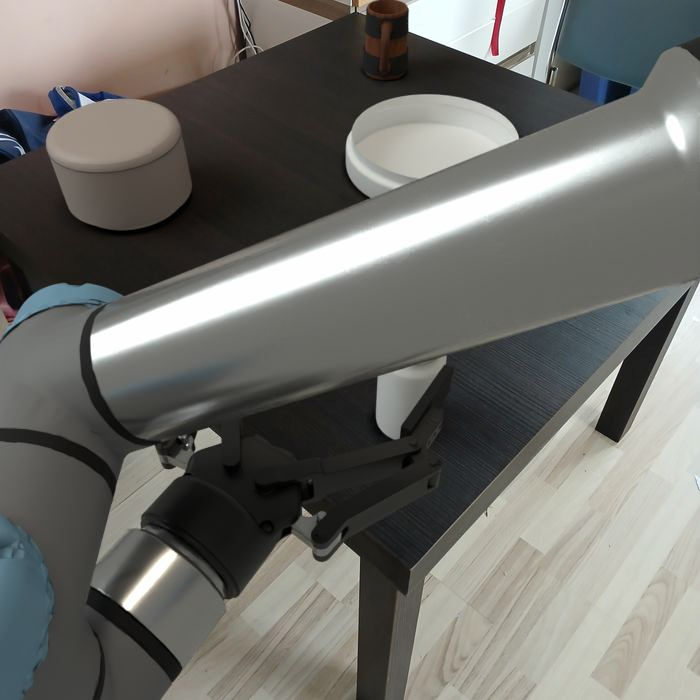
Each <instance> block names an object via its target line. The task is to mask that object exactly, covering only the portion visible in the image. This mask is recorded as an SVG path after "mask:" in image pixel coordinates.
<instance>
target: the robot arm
mask: <svg viewBox="0 0 700 700" xmlns="http://www.w3.org/2000/svg"><path fill="white" fill-rule="evenodd" d="M690 282H700V36H698V37H696V38H693V39H691V40H688V41H686V42H682V43H680V44H678V45H676V46H673V47H671V48H669V49H667V50H665V51H663V52H662V53H660V55H659V57H658V59H657V61H656V62H655V63H654V66H653V67H652V69H651V71H650V73H649V74H648V76H647V78H646V79H645V81H644V83H643V85H642V87H640V88H639V89H638V90H637V91H635V92H633V93H631V94H628V95H625V96H624V97H621V98H619V99H615V100H613V101H610V102H608V103H606V104H604V105H601V106H598V107H595V108H593V109H590V110H589V111H586V112H582V113H581V114H578V115H575V116H573V117H570V118H567V119H565V120H563V121H561V122H558V123H555V124H553V125H551V126H548V127H545V128H542V129H541V130H538V131H536V132H532V133H530V134H528V135H525V136H523V137H521V138H520V137H519V139H518V140H515V141H513V142H510V143H508V144H505V145H503V146H500V147H498V148H495V149H493V150H490V151H488V152H485V153H483V154H480V155H478V156H475V157H473V158H470V159H468V160H465V161H463V162H460V163H458V164H455V165H453V166H450V167H448V168H445V169H443V170H440V171H438V172H435V173H433V174H430V175H428V176H425V177H423V178H420V179H417V180H415V181H412V182H410V183H407V184H405V185H402V186H400V187H397V188H395V189H392V190H390V191H387V192H385V193H382V194H380V195H377V196H375V197H372V198H370V197H369V198H367V199H365V200H363V201H360V202H357V203H355V204H353V205H350V206H347V207H344V208H343V209H339V210H337V211H335V212H332V213H330V214H328V215H325V216H322V217H320V218H317V219H315V220H312V221H309V222H308V223H304V224H302V225H300V226H297V227H295V228H292V229H290V230H287V231H285V232H282V233H279V234H277V235H275V236H272V237H269V238H267V239H264V240H262V241H260V242H257V243H254V244H252V245H250V246H247V247H244V248H242V249H240V250H237V251H235V252H232V253H229V254H227V255H225V256H222V257H219V258H217V259H215V260H212V261H209V262H207V263H205V264H201V265H200V266H197V267H195V268H192V269H189V270H187V271H184V272H182V273H179V274H176V275H174V276H172V277H170V278H167V279H165V280H161V281H159V282H157V283H154V284H151V285H149V286H147V287H144V288H142V289H139V290H137V291H135V292H132V293H129V294H126V295H123V294H121V293H119V292H117V291H115V290H113V289H111V288H108V287H105V286H101V285H98V284H93V283H88V282H87V283H84V284H82V285H78V284H77V285H73V284H68V283H66V282H61V283H55V284H51V285H49V286H46V287H43V288H40V289H39V290H37V291H36V292H34V293H33V294H32V295H30V296H29V297H28V298H27V299H26V300H25V301H24V302H23V304H22V305H21V306H20V308H19V310H18V312H17V313H16V315H15V317H14V319H13V321H12V322H11V324H10V325H9V326H8V327H7V328H6V329H5V330H4V333H3V334H2V336H1V338H0V700H162V698H163V697H164V696H165V694H166V693H167V692H168V691H169V689H170V688H171V686H172V685H173V683H174V682H175V681H176V680H177V678H179V676H180V674H181V673H182V672H183V670H184V669H186V667H187V665H188V664H189V663H190V661H191V660H192V659H193V657H194V656H195V654H196V653H198V650H199V649H200V648H201V646H202V645H203V644H204V642H205V641H206V640H207V639H208V637H209V636H210V634H211V633H212V632H213V630H214V629H215V628H216V626H217V625H218V624H219V622H220V621H221V620H222V618H223V617H224V616H225V615H226V613H227V604H226V601H225V600H228V601H229V600H232V599H237V598H238V597H240V596H241V594H242V593H243V591H244V590H245V589H246V587H247V586H248V584H249V583H250V582H251V581H252V579H253V578H254V576H255V575H256V574H257V572H258V571H259V570H260V568H261V567H262V566H263V564H264V563H265V562H266V561H267V559H268V558H269V557H270V555H271V553H272V552H273V551H274V550H275V548H276V546H277V545H278V544H279V543H280V542H281V541H282V540H283V539H285V538H287V537H288V536H292V535H293V536H294V537H296V538H297V539H298V540H300V541H301V542H302V543H303V544H305V545H306V546H308V548H310V549H311V554H312V557H313V559H314V560H315V561H317V562H319V563H324V562H325V563H326V562H327V561H329V560H330V559H331V558H332V556H333V555H334V554H335V553H336V552H337V551H338V550H339V548H340V547H341V546H342V545H343V544H344V542H346V540H347V539H349V538H351V537H353V536H354V535H356V534H358V533H360V532H361V531H364V530H365V529H367V528H368V527H371V526H372V525H374V524H376V523H378V522H379V521H381V520H383V519H385V518H387V517H388V516H390V515H392V514H394V513H395V512H397V511H399V510H400V509H402V508H404V507H405V506H407V505H410V504H411V503H413V502H414V501H416V500H418V499H420V498H421V497H423V496H425V495H427V494H429V493H430V492H432V491H434V490H436V489H437V488H438V487H439V484H440V479H441V473H442V468H443V459H442V457H440V455H437V454H432V453H431V452H430V451H429V449H430V447H431V446H432V444H433V443H434V441H435V440H436V438H437V436H438V435H439V433H440V432H441V430H442V427H443V421H444V412H445V411H444V410H442V409H440V407H441V406H442V405H443V402H444V401H445V400H446V398H447V397H448V395H449V394H450V391H451V387H452V381H453V376H454V375H453V374H454V367H451V366H449V365H447V364H446V365H445V364H444V366H443V367H442V369H441V370H440V371H439V373H438V374H437V376H436V377H435V378H434V380H433V381H432V383H431V384H430V386H429V387H428V388H427V390H426V391H425V393H424V394H423V395H422V397H421V398H420V400H419V401H418V403H417V404H416V405H415V407H414V408H413V410H412V411H411V412H410V414H409V415H408V417H407V418H406V420H405V421H404V422H403V424H402V425H401V430H400V439H396V440H394V439H392V440H389V441H385V442H381V443H378V444H373V445H370V446H366V447H363V448H359V449H355V450H351V451H348V452H344V453H340V454H336V455H333V456H328V457H325V458H319V457H317V456H313V457H308V458H305V459H301V460H297V459H296V458H295V453H293V452H291V451H289V450H288V449H285V448H282V447H279V446H274V445H273V444H272V443H271V442H270V441H269V440H268V439H266V438H265V437H264V436H262V435H261V434H258V433H255V434H254V435H244V418H246V417H249V416H252V415H255V414H258V413H263V412H266V411H268V410H272V409H276V408H279V407H282V406H285V405H288V404H289V405H290V404H292V403H295V402H298V401H302V400H305V399H309V398H312V397H315V396H318V395H321V394H325V393H328V392H331V391H334V390H338V389H341V388H345V387H347V386H351V385H354V384H357V383H361V382H365V381H367V380H371V379H373V378H378V376H381V375H384V374H388V373H391V372H394V371H397V370H401V369H404V368H407V367H411V366H414V365H417V364H421V363H424V362H427V361H430V360H434V359H437V358H440V357H444V356H446V357H447V356H449V355H454V354H456V353H460V352H463V351H465V350H466V351H467V350H470V349H473V348H477V347H479V346H483V345H487V344H489V343H492V342H496V341H499V340H502V339H506V338H509V337H513V336H516V335H520V334H523V333H525V332H529V331H533V330H536V329H539V328H542V327H546V326H549V325H552V324H555V323H558V322H559V323H560V322H562V321H565V320H568V319H571V318H575V317H579V316H581V315H585V314H588V313H591V312H596V311H598V310H601V309H604V308H609V307H612V306H614V305H618V304H621V303H625V302H629V301H632V300H635V299H637V298H641V297H644V296H648V295H651V294H654V293H658V292H660V291H664V290H667V289H670V288H674V287H677V286H680V285H684V284H688V283H690ZM216 426H220V441H221V442H220V443H216V444H213V445H211V446H207V447H205V448H201V449H199V450H196V448H197V447H196V443H195V440H196V438H197V435H198V432H199V431H203V430H206V429H209V428H212V427H216ZM152 446H153V447H154V448H155V451H156V453H157V456H158V459H159V461H160V465H161V466H162V468H163V469H164V470H168V471H169V470H173V469H176V467H177V468H179V469H181V470H184V472H183V474H182V475H181V476H178V477H176V478H175V479H174V480H173V481H171V483H170V484H169V485H168V486H166V488H165V489H164V490H163V491H162V492H161V493H160V494H159V495H158V497H157V498H156V499H155V500H154V501H153V502H152V503H151V504H150V505H149V506H148V507H147V509H146V510H145V511H144V512H143V513H142V514H141V515H140V523H139V524H140V527H134V528H133V527H132V528H127V529H126V530H125V531H124V532H123V533H122V535H121V536H120V537H119V538H118V539H117V540H116V541H115V542H114V543H113V544H112V546H111V547H110V548H109V549H108V550H107V551H106V552H105V554H103V556H102V557H101V558H100V559H99V560H98V558H99V554H100V550H101V547H102V543H103V539H104V536H105V531H106V528H107V523H108V519H109V516H110V512H111V508H112V505H113V502H114V499H115V494H116V490H117V484H118V481H119V478H120V474H121V471H122V467H123V464H124V461H125V459H126V457H127V456H128V455H129V454H131V453H135V452H138V451H141V450H145V449H147V448H150V447H152ZM305 481H308V482H306V483H304V484H302V482H305ZM373 482H376V483H374V484H372V485H370V486H368V487H366V488H364V489H363V490H361V491H359V492H357V493H356V494H354V495H352V496H350V497H348V498H347V499H345V500H342V501H341V502H339V503H338V504H336V505H335V506H334V507H332V508H331V509H330V510H329V511H328V512H326V511H325V510H319V511H318V512H317V513H315V514H313V515H312V516H304V514H303V506H306V505H308V504H313V503H316V502H319V501H322V500H323V499H325V498H326V496H327V495H330V494H334V493H338V492H341V491H344V490H349V489H352V488H356V487H359V486H363V485H366V484H370V483H373Z"/></svg>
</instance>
